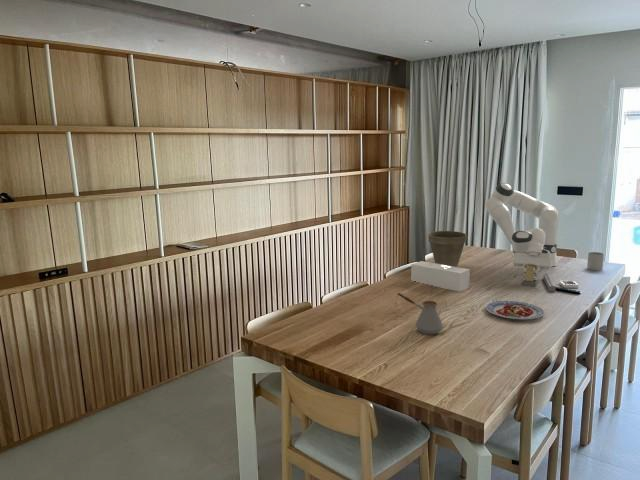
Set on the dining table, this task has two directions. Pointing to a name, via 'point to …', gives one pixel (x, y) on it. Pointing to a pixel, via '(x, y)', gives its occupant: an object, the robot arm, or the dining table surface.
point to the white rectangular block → (440, 275)
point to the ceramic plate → (515, 310)
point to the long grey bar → (549, 283)
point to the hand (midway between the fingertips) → (530, 273)
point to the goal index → (529, 283)
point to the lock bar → (530, 272)
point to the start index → (568, 284)
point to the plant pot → (447, 246)
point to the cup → (595, 261)
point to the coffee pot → (427, 317)
